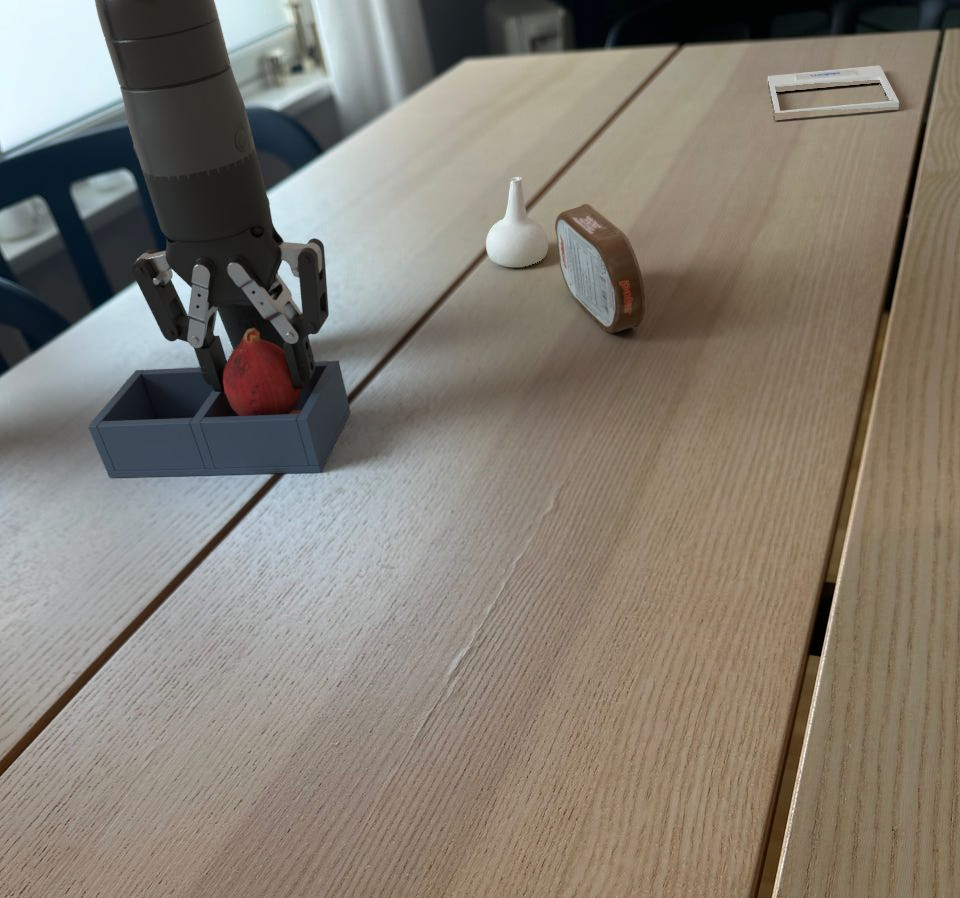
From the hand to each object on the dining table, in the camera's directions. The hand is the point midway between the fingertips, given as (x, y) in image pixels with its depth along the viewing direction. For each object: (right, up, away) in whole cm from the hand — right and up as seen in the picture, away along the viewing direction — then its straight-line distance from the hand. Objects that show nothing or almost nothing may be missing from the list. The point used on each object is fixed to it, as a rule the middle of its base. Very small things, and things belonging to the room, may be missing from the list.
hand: (262, 385), depth 77 cm
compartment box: (-3, -4, +4) cm, 7 cm away
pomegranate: (0, -3, +3) cm, 4 cm away
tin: (+27, +10, +14) cm, 32 cm away
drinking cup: (-3, +6, +16) cm, 17 cm away
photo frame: (+62, +52, +55) cm, 98 cm away
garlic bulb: (+21, +19, +26) cm, 38 cm away
